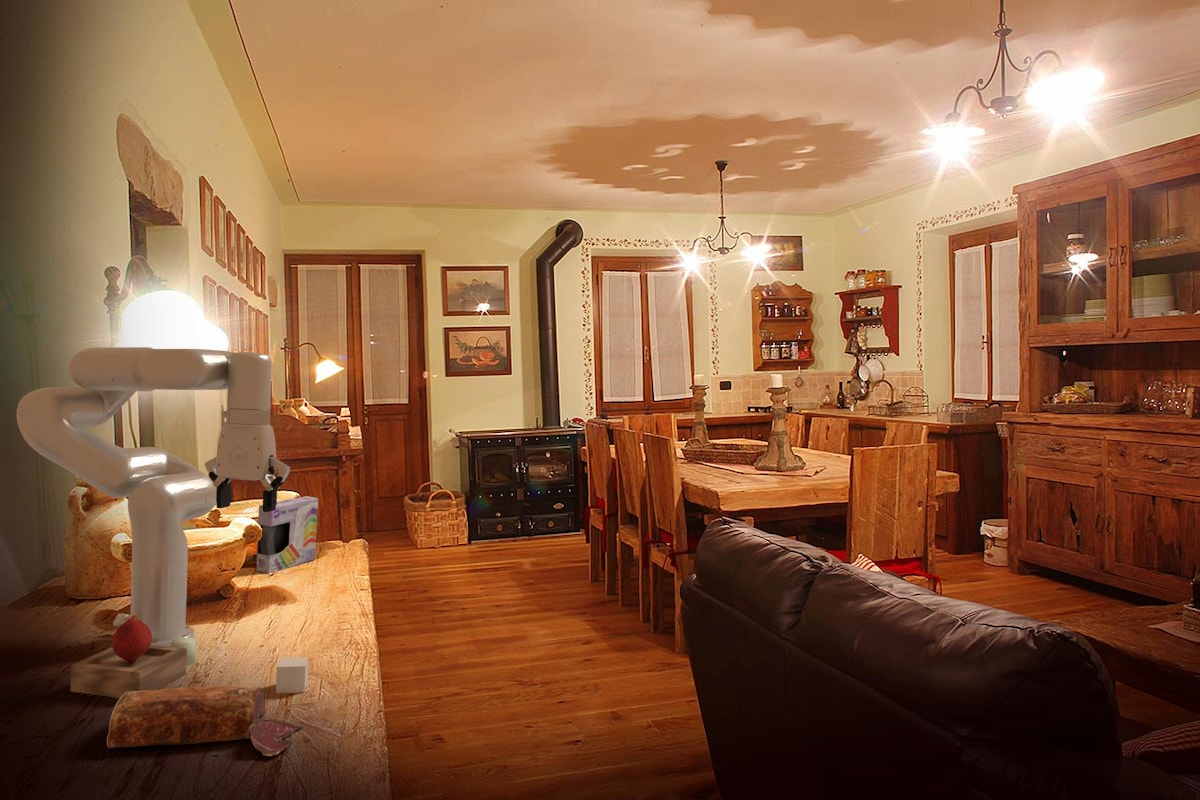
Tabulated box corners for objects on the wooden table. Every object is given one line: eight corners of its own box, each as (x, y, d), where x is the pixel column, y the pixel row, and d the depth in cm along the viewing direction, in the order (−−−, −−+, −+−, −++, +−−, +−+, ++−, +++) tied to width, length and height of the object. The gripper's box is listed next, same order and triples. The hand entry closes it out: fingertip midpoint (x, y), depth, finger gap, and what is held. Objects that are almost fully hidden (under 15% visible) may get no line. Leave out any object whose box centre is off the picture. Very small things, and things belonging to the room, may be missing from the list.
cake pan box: (266, 574, 214) (269, 506, 214) (251, 572, 216) (254, 504, 216) (317, 560, 232) (319, 497, 232) (302, 558, 234) (305, 495, 233)
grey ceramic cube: (275, 694, 139) (276, 667, 138) (279, 683, 143) (280, 657, 143) (304, 692, 140) (305, 666, 139) (307, 682, 144) (308, 657, 144)
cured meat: (294, 760, 116) (296, 710, 116) (94, 770, 111) (96, 718, 111) (309, 711, 134) (311, 668, 134) (137, 718, 128) (139, 673, 128)
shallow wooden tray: (70, 693, 135) (71, 665, 134) (122, 667, 146) (123, 642, 146) (138, 700, 133) (139, 672, 133) (185, 674, 145) (186, 648, 145)
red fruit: (133, 670, 136) (135, 621, 136) (102, 666, 137) (104, 617, 137) (159, 658, 142) (160, 612, 142) (129, 655, 143) (130, 608, 143)
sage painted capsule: (165, 665, 149) (165, 643, 148) (179, 658, 153) (180, 636, 152) (186, 667, 148) (186, 645, 148) (199, 660, 152) (200, 638, 152)
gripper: (194, 416, 155) (192, 508, 156) (278, 421, 152) (275, 515, 152) (221, 415, 163) (218, 503, 163) (301, 419, 159) (298, 509, 159)
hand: (246, 509), depth 158 cm, fingers open, 9 cm apart
